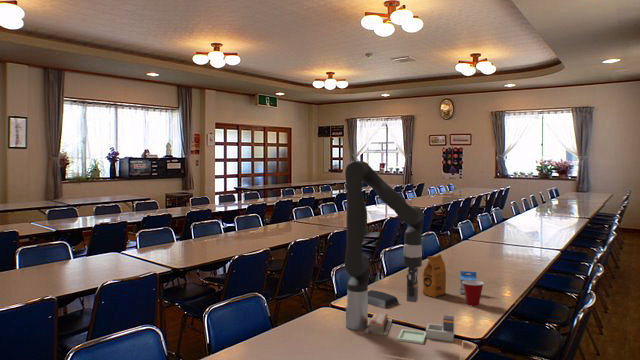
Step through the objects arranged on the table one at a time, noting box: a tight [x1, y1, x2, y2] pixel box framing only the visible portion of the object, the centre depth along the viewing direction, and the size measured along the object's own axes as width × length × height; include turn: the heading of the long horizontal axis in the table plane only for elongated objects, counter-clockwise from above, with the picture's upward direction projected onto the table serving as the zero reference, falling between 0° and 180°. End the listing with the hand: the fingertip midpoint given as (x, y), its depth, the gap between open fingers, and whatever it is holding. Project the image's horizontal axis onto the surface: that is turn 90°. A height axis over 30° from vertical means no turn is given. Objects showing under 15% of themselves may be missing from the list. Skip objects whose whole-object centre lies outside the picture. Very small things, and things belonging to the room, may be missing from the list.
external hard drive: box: [368, 289, 399, 309], centre depth 236 cm, size 13×19×4 cm
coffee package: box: [421, 253, 447, 298], centre depth 248 cm, size 10×12×22 cm
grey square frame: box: [425, 314, 455, 342], centre depth 188 cm, size 11×8×9 cm
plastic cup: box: [462, 280, 485, 307], centre depth 230 cm, size 11×11×12 cm
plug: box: [406, 280, 419, 303], centre depth 186 cm, size 4×4×8 cm
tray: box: [396, 328, 426, 345], centre depth 187 cm, size 11×11×2 cm
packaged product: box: [364, 312, 393, 336], centre depth 199 cm, size 18×5×10 cm
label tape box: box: [459, 270, 478, 295], centre depth 248 cm, size 9×4×12 cm, turn 73°
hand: (412, 294), depth 186 cm, fingers closed on plug, 4 cm apart
